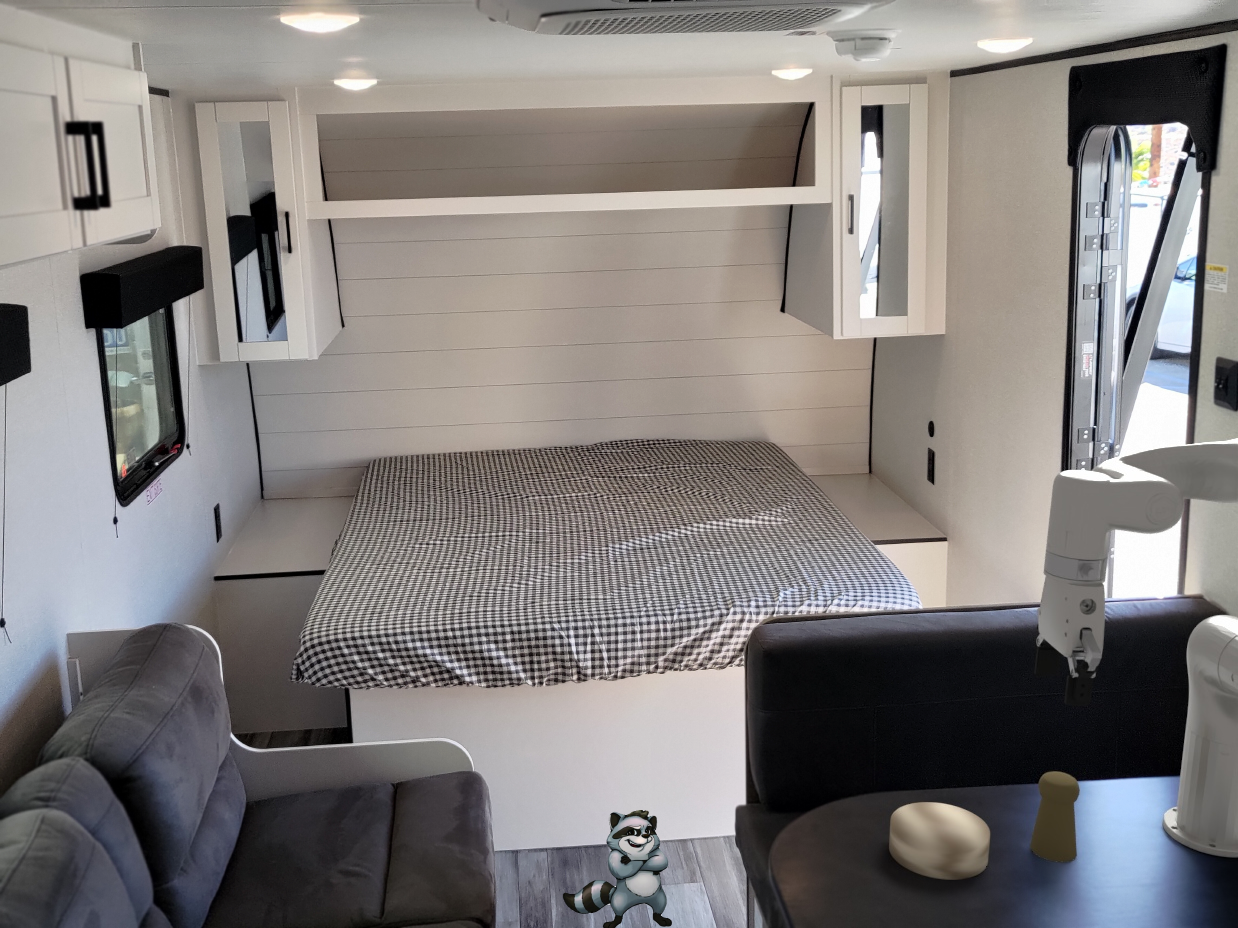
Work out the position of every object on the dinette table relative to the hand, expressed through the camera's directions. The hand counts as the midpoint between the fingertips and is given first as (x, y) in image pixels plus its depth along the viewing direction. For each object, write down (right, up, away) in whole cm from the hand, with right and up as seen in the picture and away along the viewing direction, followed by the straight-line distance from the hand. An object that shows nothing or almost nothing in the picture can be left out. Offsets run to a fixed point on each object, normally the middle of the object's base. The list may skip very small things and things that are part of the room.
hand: (1061, 689), depth 153 cm
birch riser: (-15, -23, +4) cm, 28 cm away
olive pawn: (+1, -23, +4) cm, 23 cm away
